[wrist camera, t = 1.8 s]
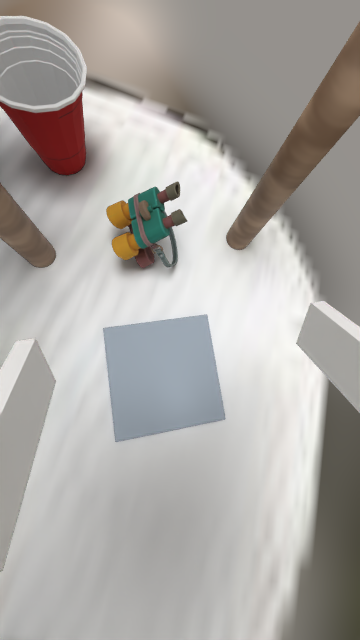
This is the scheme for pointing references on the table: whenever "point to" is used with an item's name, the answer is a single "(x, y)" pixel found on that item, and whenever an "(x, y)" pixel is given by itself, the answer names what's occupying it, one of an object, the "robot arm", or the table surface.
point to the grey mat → (162, 376)
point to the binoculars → (145, 225)
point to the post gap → (276, 184)
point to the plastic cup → (44, 90)
